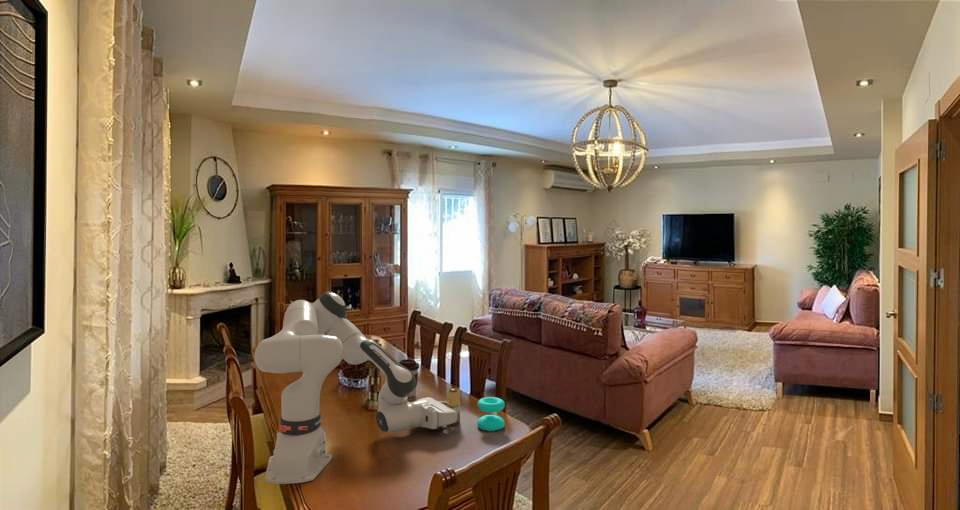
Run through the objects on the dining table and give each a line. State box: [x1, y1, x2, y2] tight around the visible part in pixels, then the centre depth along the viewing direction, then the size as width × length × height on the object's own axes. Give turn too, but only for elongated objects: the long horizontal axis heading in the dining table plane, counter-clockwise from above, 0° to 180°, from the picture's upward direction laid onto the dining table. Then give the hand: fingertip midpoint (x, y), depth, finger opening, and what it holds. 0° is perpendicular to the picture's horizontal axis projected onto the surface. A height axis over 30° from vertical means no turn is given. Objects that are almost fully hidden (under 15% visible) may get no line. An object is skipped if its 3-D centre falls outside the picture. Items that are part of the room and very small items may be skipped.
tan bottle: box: [445, 387, 461, 426], centre depth 194 cm, size 5×5×13 cm
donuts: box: [476, 396, 506, 432], centre depth 190 cm, size 10×10×10 cm
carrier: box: [422, 426, 444, 433], centre depth 191 cm, size 12×7×2 cm, turn 5°
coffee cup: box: [398, 358, 420, 398], centre depth 225 cm, size 10×10×15 cm
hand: (454, 406), depth 194 cm, fingers open, 5 cm apart
